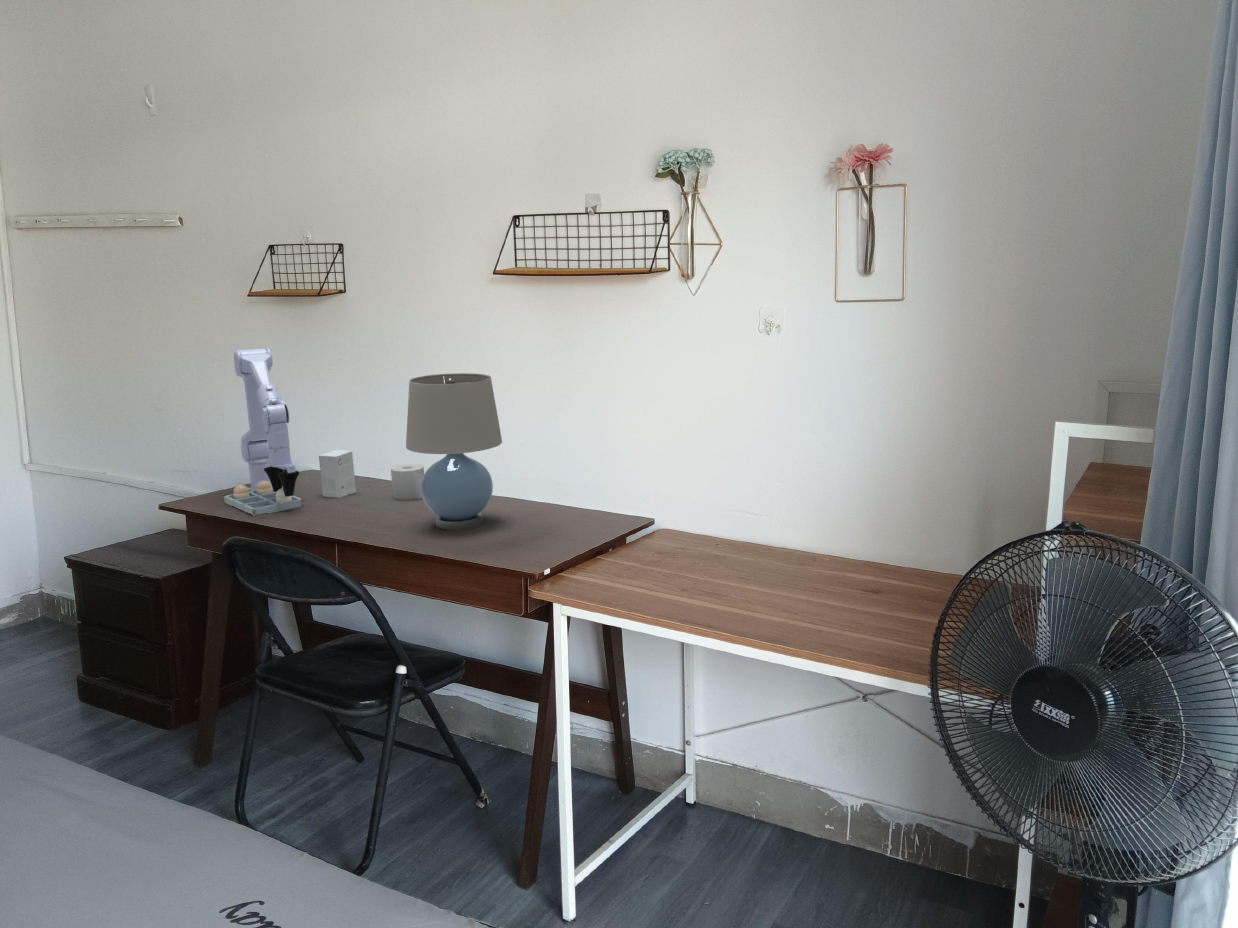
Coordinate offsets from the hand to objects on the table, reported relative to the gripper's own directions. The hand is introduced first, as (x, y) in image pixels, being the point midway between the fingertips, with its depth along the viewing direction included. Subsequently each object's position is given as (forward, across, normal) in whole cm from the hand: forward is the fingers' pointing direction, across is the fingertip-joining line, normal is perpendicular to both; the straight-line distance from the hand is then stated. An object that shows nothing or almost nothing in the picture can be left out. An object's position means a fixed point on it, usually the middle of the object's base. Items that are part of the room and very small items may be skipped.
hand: (283, 493), depth 266 cm
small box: (+4, -2, +18) cm, 18 cm away
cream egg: (+4, 0, 0) cm, 4 cm away
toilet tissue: (+4, +16, +32) cm, 36 cm away
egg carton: (+4, -7, -3) cm, 9 cm away
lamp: (+4, +50, +26) cm, 57 cm away
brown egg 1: (+4, -14, -7) cm, 16 cm away
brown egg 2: (+4, -14, 0) cm, 14 cm away
